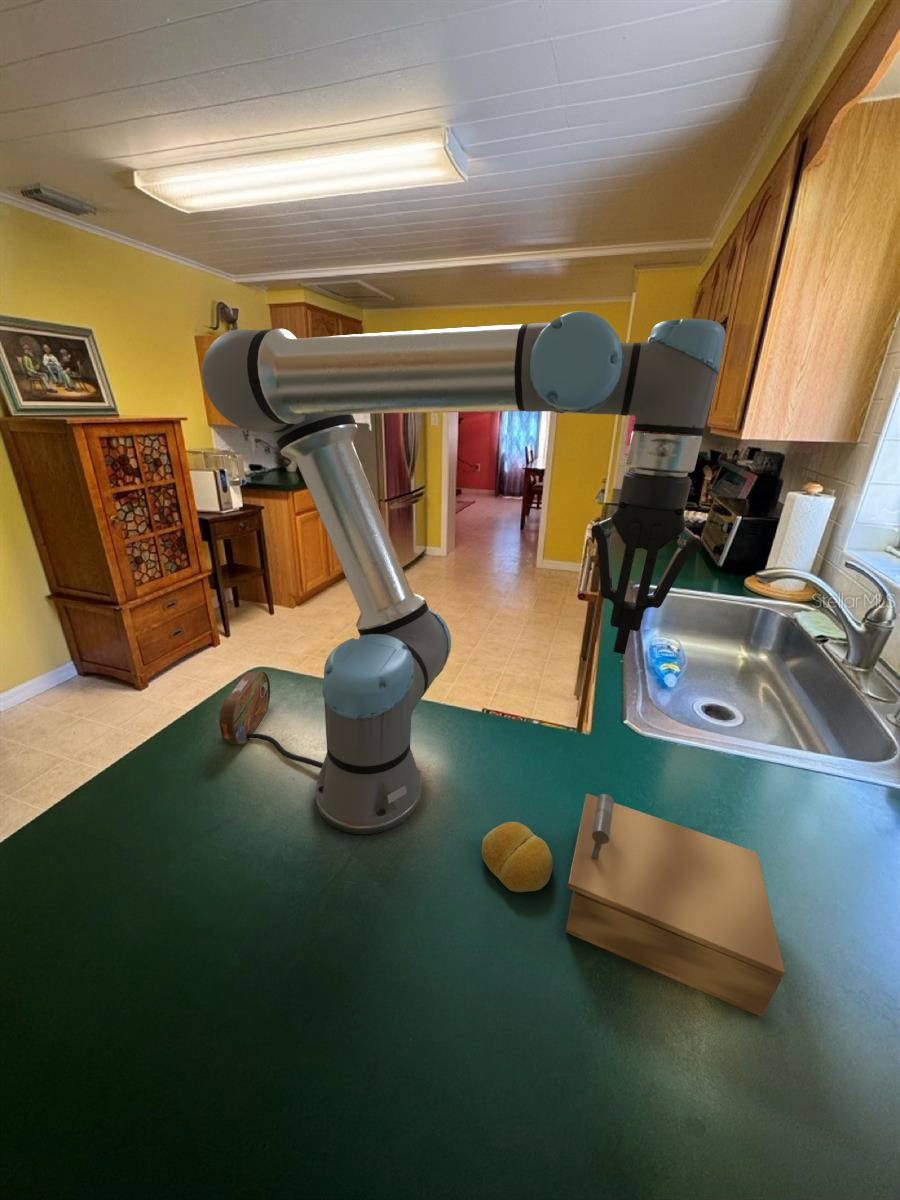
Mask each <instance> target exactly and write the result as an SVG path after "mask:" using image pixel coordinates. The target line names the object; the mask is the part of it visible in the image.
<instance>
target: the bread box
mask: <svg viewBox="0 0 900 1200" xmlns="http://www.w3.org/2000/svg"><path fill="white" fill-rule="evenodd" d="M568 910H569V911H568V917H567V922H566V926H565V933H567V934H568V935H571V936H573V937H576V938H578V939H580V940H582V941H585V942H587V943H590V944H591V945H593V946H596V947H599V948H601V949H603V950H606V951H608V952H610V953H613V954H615V955H617V956H619V957H621V958H624V959H626V960H628V961H630V962H633V963H635V964H638V965H640V966H642V967H645V968H647V969H649V970H652V971H654V972H656V973H659V974H661V975H663V976H666V977H668V978H670V979H673V980H675V981H678V982H679V983H682V984H684V985H687V986H689V987H692V988H693V989H695V990H698V991H701V992H702V993H705V994H707V995H710V996H711V997H714V998H716V999H719V1000H721V1001H724V1002H726V1003H728V1004H730V1005H733V1006H735V1007H737V1008H738V1009H739V1008H740V1009H742V1010H744V1011H746V1012H749V1013H751V1014H753V1015H756V1016H758V1017H760V1018H763V1016H764V1014H765V1013H766V1011H767V1009H768V1008H769V1005H770V1002H771V1000H772V999H773V997H774V995H775V993H776V991H777V989H778V987H779V985H780V983H781V982H782V979H783V977H779V976H777V975H774V974H772V973H770V972H767V971H765V970H762V969H760V968H758V967H755V966H753V965H751V964H748V963H746V962H743V961H741V960H739V959H736V958H734V957H731V956H729V955H727V954H724V953H722V952H719V951H717V950H715V949H712V948H710V947H707V946H705V945H703V944H700V943H698V942H696V941H693V940H691V939H688V938H686V937H684V936H681V935H679V934H676V933H674V932H672V931H669V930H667V929H664V928H662V927H660V926H657V925H655V924H652V923H650V922H648V921H645V920H643V919H641V918H638V917H636V916H633V915H631V914H629V913H626V912H624V911H621V910H619V909H617V908H614V907H612V906H609V905H607V904H605V903H602V902H600V901H598V900H595V899H593V898H590V897H588V896H586V895H583V894H581V893H578V892H576V891H574V890H572V893H571V900H570V905H569V909H568Z"/></svg>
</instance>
